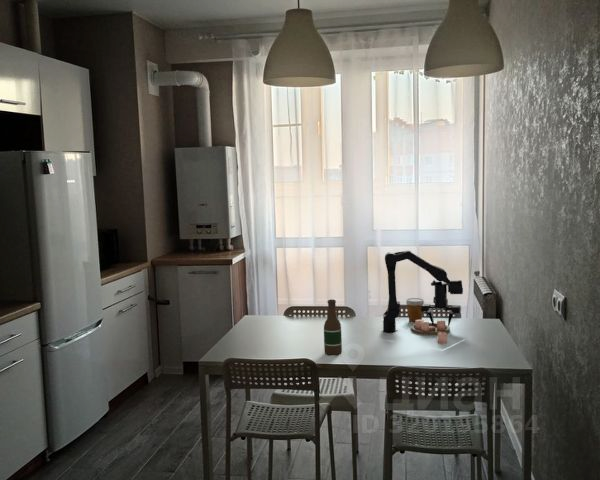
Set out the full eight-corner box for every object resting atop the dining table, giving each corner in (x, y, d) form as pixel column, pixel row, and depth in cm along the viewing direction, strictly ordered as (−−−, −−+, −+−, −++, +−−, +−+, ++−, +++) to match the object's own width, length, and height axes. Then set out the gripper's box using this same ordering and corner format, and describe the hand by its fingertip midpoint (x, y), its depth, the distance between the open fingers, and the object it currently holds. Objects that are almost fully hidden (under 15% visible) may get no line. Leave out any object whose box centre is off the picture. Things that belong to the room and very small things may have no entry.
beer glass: (402, 321, 320) (402, 299, 319) (417, 319, 324) (417, 297, 323) (413, 325, 311) (412, 302, 310) (428, 322, 315) (428, 300, 314)
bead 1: (444, 332, 293) (444, 322, 292) (436, 331, 294) (436, 321, 294) (445, 330, 297) (445, 320, 296) (437, 329, 298) (437, 319, 298)
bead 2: (444, 345, 273) (444, 334, 272) (436, 344, 276) (436, 333, 275) (448, 343, 276) (448, 332, 275) (440, 342, 279) (440, 331, 278)
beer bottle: (331, 349, 272) (329, 297, 270) (345, 352, 267) (344, 299, 265) (320, 354, 266) (319, 300, 264) (335, 357, 261) (333, 302, 259)
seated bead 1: (421, 332, 295) (420, 321, 295) (413, 330, 298) (413, 320, 297) (425, 330, 298) (425, 320, 298) (418, 329, 301) (417, 319, 300)
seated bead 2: (426, 334, 291) (426, 324, 290) (419, 333, 293) (419, 322, 293) (430, 332, 294) (430, 322, 293) (423, 331, 296) (423, 321, 296)
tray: (438, 338, 285) (438, 334, 284) (404, 333, 297) (404, 328, 296) (456, 330, 298) (456, 326, 298) (423, 325, 310) (423, 321, 310)
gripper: (462, 291, 298) (462, 322, 299) (424, 290, 305) (424, 320, 306) (459, 296, 287) (459, 328, 289) (420, 294, 294) (420, 326, 296)
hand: (441, 325), depth 295 cm, fingers open, 7 cm apart
